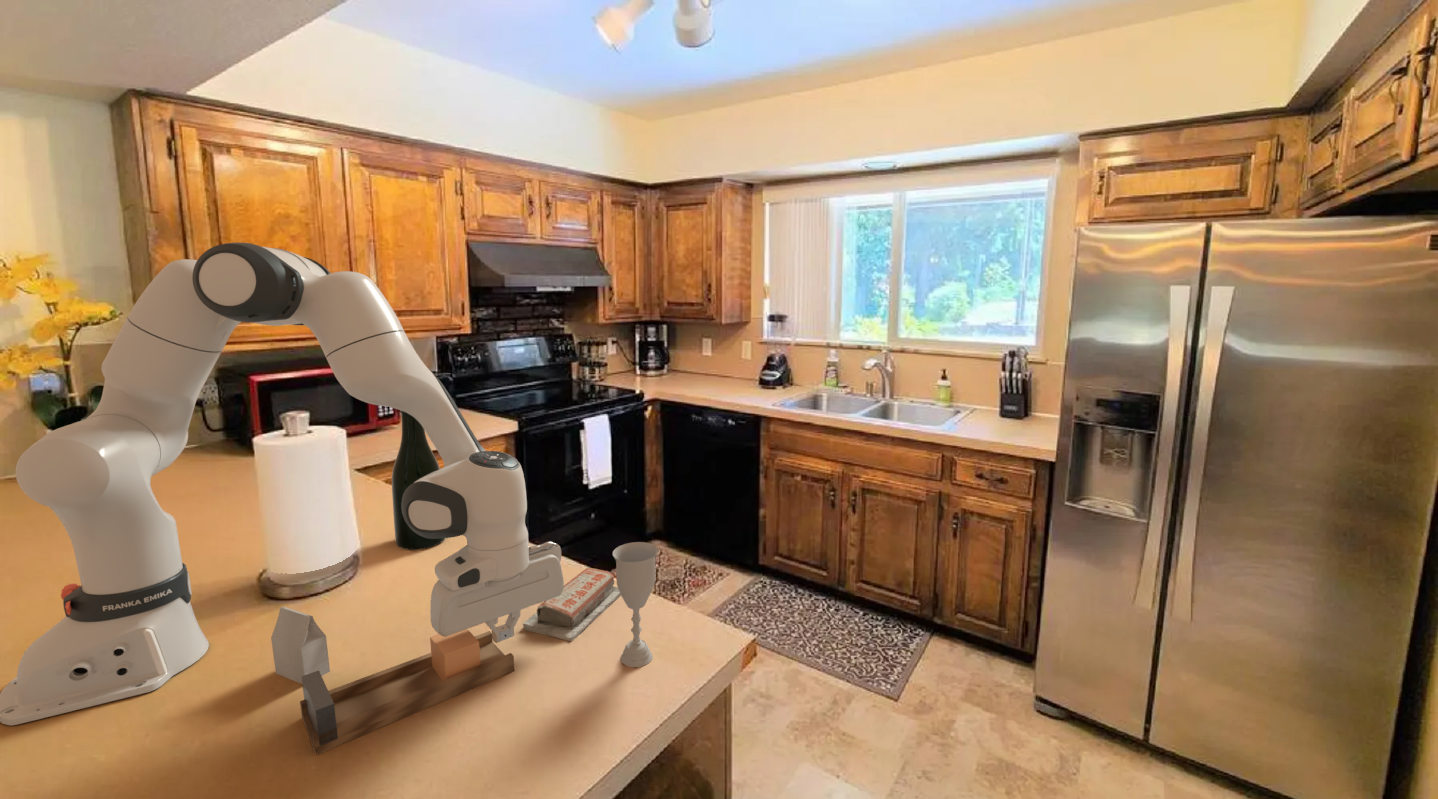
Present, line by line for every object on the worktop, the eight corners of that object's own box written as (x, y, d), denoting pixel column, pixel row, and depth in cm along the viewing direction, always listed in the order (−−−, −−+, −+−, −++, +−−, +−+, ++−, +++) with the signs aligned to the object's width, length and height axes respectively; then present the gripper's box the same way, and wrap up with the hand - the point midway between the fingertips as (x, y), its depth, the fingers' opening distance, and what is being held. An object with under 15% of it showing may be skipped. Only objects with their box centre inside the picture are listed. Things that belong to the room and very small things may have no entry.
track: (315, 755, 78) (313, 737, 77) (301, 717, 84) (299, 701, 84) (514, 670, 95) (513, 655, 95) (490, 644, 101) (489, 630, 101)
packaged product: (579, 562, 122) (624, 571, 119) (579, 585, 123) (624, 594, 120) (521, 606, 105) (571, 617, 102) (522, 632, 106) (572, 644, 103)
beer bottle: (422, 554, 134) (410, 404, 128) (384, 547, 137) (371, 400, 131) (457, 536, 144) (447, 396, 138) (421, 529, 147) (410, 392, 141)
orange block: (446, 686, 90) (444, 654, 89) (432, 667, 94) (429, 637, 93) (481, 672, 93) (479, 641, 92) (465, 654, 97) (463, 625, 96)
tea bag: (305, 685, 91) (298, 623, 89) (275, 673, 93) (267, 612, 92) (329, 671, 94) (323, 610, 92) (300, 660, 97) (293, 601, 95)
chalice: (638, 676, 94) (637, 566, 91) (604, 661, 98) (602, 554, 94) (667, 653, 100) (667, 548, 97) (634, 639, 104) (633, 538, 100)
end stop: (319, 746, 78) (315, 710, 77) (305, 709, 84) (301, 676, 83) (337, 738, 79) (334, 703, 78) (322, 703, 86) (318, 670, 85)
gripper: (551, 532, 105) (553, 608, 107) (423, 568, 91) (429, 654, 94) (570, 544, 100) (572, 623, 103) (438, 584, 86) (444, 673, 89)
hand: (503, 638), depth 98 cm, fingers closed
